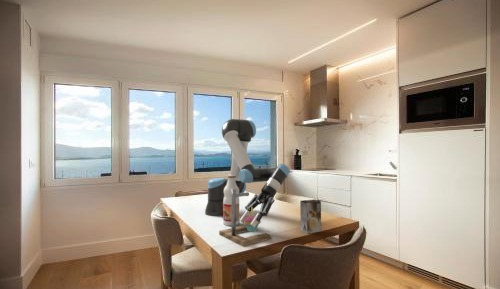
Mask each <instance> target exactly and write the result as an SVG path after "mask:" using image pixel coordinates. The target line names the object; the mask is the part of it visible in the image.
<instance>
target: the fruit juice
mask: <svg viewBox="0 0 500 289" xmlns="http://www.w3.org/2000/svg"><path fill="white" fill-rule="evenodd" d="M227 178H228V182H227V185H226V186H225V188H224V199H223V215H222V219H223V222H222V224H223V225H225V226H229V227H230V226H231V227H232V189H236V194H237V193H239V188H238V187H237V185H236V182H235V178H236V176H235V175H229V174H228V175H227V176H226V179H227ZM239 224H240V197H236V226H238V225H239Z"/></svg>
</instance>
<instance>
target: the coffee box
mask: <svg viewBox="0 0 500 289" xmlns="http://www.w3.org/2000/svg"><path fill="white" fill-rule="evenodd" d="M299 206H300V207H299V210H300V220H299V221H300V231H301V232H303V233H305V234H312V233H313V234H314V233H319V232H322V201H321V200H318V199H306V200H305V199H304V200H300V203H299Z"/></svg>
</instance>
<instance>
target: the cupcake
mask: <svg viewBox="0 0 500 289" xmlns="http://www.w3.org/2000/svg"><path fill="white" fill-rule="evenodd" d="M253 211H254V209H253V207H251V212H250V215H249V216H248V217H246V218H245V219H244V225H246V227H247V230H248V231H247V232H256V231H257V230H258V227H259V225H260V224H261V220H262V218H261V219H260V221H259V222H258V223H257V225H256V226H255V228H254V227H253V226H252V225H251V223H252V221H253V220H254V218H255V217H256V215H254V212H253Z"/></svg>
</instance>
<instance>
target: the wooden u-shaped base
mask: <svg viewBox="0 0 500 289" xmlns="http://www.w3.org/2000/svg"><path fill="white" fill-rule="evenodd" d="M244 232H249V231H248V230H247V227H246V225H245V224H244V225H240V226H236V235H235V236H232V227H230V228H227V229H226V228H225V229H221V230H219V231H218V235H219V236H221V237H223V238H225V239H227V240H229V241H231V242H233V243H235V244H236V245H239V246H240V247H244V246H248V244H249V245H251V244H255V243H260V242H263V241H267V240H270V239H272V238H271V236H272V235H271V233H268V232H263V233H258V234H255V235H251V236H247V237H246V236H245V237H244V236H241V235H240V233H244Z"/></svg>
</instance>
